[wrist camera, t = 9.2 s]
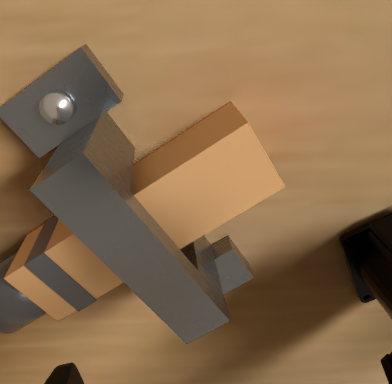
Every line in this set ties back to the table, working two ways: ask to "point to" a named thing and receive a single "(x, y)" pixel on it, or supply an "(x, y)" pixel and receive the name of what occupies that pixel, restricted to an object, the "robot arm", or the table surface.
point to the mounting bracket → (117, 198)
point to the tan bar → (155, 205)
